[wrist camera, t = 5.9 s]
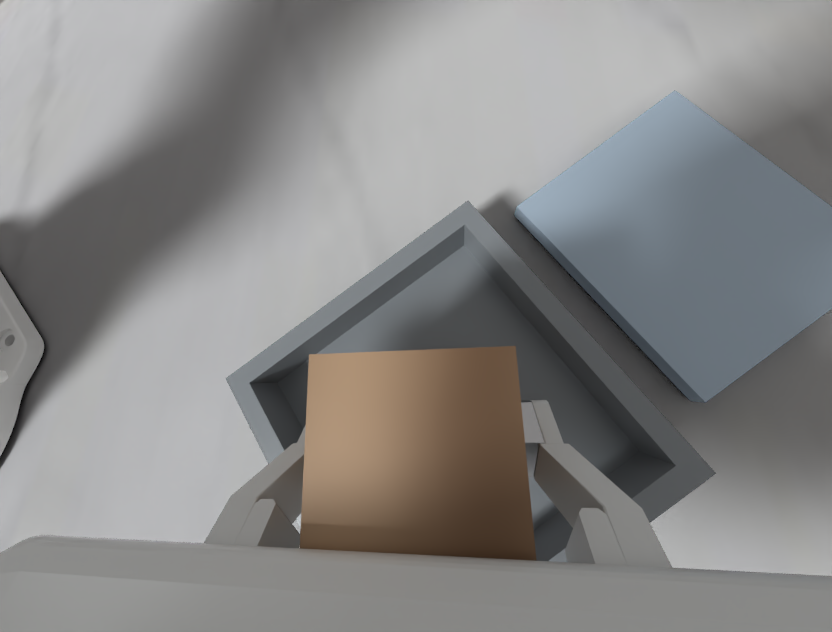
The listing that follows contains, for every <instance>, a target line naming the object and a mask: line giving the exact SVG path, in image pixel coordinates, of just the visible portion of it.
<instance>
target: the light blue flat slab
mask: <svg viewBox="0 0 832 632" xmlns="http://www.w3.org/2000/svg"><path fill="white" fill-rule="evenodd" d="M514 216H515V217H516V218H517V219H518V220H519V221H520V222H521V223H522V224H523V225H524V226H525V227H526V228H527V229H528V230H529V231H530V233H531V234H532V235H533V236H534V237H535V238H536V239H537V240H538V241H539V242H540V243H541V244H542V245H543V246H544V247H545V248H546V249H547V250H548V252H549V253H550V254H551V255H552V256H553V257H554V258H555V259H556V260H557V261H558V262H559V263H560V264H561V265H562V266H563V267H564V268H565V269H566V271H567V272H568V273H569V274H570V275H571V276H572V277H573V278H574V279H575V280H576V281H577V282H578V283H579V284H580V285H581V286H582V287H583V288H584V290H585V291H586V292H587V293H588V294H589V295H590V296H591V297H592V298H593V299H594V300H595V301H596V302H597V303H598V304H599V305H600V306H601V307H602V308H603V310H604V311H605V312H606V313H607V314H608V315H609V316H610V317H611V318H612V319H613V320H614V321H615V322H616V323H617V324H618V325H619V326H620V327H621V329H622V330H623V331H624V332H625V333H626V334H627V335H628V336H629V337H630V338H631V339H632V340H633V341H634V342H635V343H636V344H637V345H638V346H639V348H640V349H641V350H642V351H643V352H644V353H645V354H646V355H647V356H648V357H649V358H650V359H651V360H652V361H653V362H654V363H655V364H656V365H657V367H658V368H659V369H660V370H661V371H662V372H663V373H664V374H665V375H666V376H667V377H668V378H669V379H670V380H671V381H672V382H673V383H674V384H675V385H676V387H677V388H678V389H679V390H680V391H681V392H682V393H683V394H684V395H685V396H686V397H687V398H688V399H689V400H690V401H694V402H705V403H706V402H707V401H708V400H710V399H711V398H712V397H714V396H715V395H716V394H718V393H719V392H721V391H722V390H723V389H725V388H726V387H727V386H729V385H730V384H731V383H733V382H734V381H735V380H737V379H738V378H739V377H741V376H742V375H743V374H745V373H746V372H747V371H749V370H750V369H751V368H753V367H754V366H755V365H757V364H758V363H759V362H761V361H762V360H764V359H765V358H766V357H768V356H769V355H770V354H772V353H773V352H774V351H776V350H777V349H778V348H780V347H781V346H782V345H784V344H785V343H786V342H788V341H789V340H790V339H792V338H793V337H794V336H796V335H797V334H798V333H800V332H801V331H802V330H804V329H805V328H807V327H808V326H809V325H811V324H812V323H813V322H815V321H816V320H817V319H819V318H820V317H821V316H823V315H824V314H825V313H827V312H828V311H829V310H831V309H832V206H830V205H829V204H828V203H826V202H825V201H824V200H822V199H821V198H820V197H818V196H817V195H816V194H814V193H813V192H811V191H810V190H809V189H807V188H806V187H805V186H803V185H802V184H801V183H799V182H798V181H797V180H795V179H794V178H793V177H791V176H790V175H789V174H787V173H786V172H785V171H783V170H782V169H781V168H779V167H778V166H776V165H775V164H774V163H772V162H771V161H770V160H768V159H767V158H766V157H764V156H763V155H762V154H760V153H759V152H758V151H756V150H755V149H754V148H752V147H751V146H750V145H748V144H747V143H745V142H744V141H743V140H741V139H740V138H739V137H737V136H736V135H735V134H733V133H732V132H731V131H729V130H728V129H727V128H725V127H724V126H723V125H721V124H720V123H719V122H717V121H716V120H715V119H713V118H712V117H710V116H709V115H708V114H706V113H705V112H704V111H702V110H701V109H700V108H698V107H697V106H696V105H694V104H693V103H692V102H690V101H689V100H688V99H686V98H685V97H684V96H682V95H681V94H679V93H678V92H677V91H675V90H674V91H673V92H672V93H670V94H669V95H668V96H666V97H665V98H664V99H662V100H661V101H659V102H658V103H657V104H655V105H654V106H653V107H651V108H650V109H649V110H647V111H646V112H644V113H643V114H642V115H640V116H639V117H638V118H636V119H635V120H634V121H632V122H631V123H630V124H628V125H627V126H625V127H624V128H623V129H621V130H620V131H619V132H617V133H616V134H615V135H613V136H612V137H611V138H609V139H608V140H606V141H605V142H604V143H602V144H601V145H600V146H598V147H597V148H596V149H594V150H593V151H591V152H590V153H589V154H587V155H586V156H585V157H583V158H582V159H581V160H579V161H578V162H577V163H575V164H574V165H572V166H571V167H570V168H568V169H567V170H566V171H564V172H563V173H562V174H560V175H559V176H558V177H556V178H555V179H553V180H552V181H551V182H549V183H548V184H547V185H545V186H544V187H543V188H541V189H540V190H538V191H537V192H536V193H534V194H533V195H532V196H530V197H529V198H528V199H526V200H525V201H524V202H522V203H521V204H519V205H518V206H517V208H516V211H515V214H514Z"/></svg>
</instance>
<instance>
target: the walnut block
mask: <svg viewBox="0 0 832 632" xmlns="http://www.w3.org/2000/svg"><path fill="white" fill-rule="evenodd" d="M300 548H302V549H321V550H341V551H360V552H379V553H398V554H418V555H437V556H456V557H475V558H494V559H514V560H533V561H537V560H536V550H535V540H534V530H533V519H532V509H531V499H530V489H529V478H528V468H527V458H526V448H525V437H524V427H523V417H522V407H521V396H520V386H519V376H518V365H517V355H516V346H502V347H477V348H453V349H429V350H405V351H381V352H356V353H332V354H309V367H308V387H307V408H306V428H305V449H304V469H303V490H302V510H301V531H300Z"/></svg>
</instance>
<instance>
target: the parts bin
mask: <svg viewBox="0 0 832 632" xmlns="http://www.w3.org/2000/svg"><path fill="white" fill-rule="evenodd" d="M502 346H516V355H517V365H518V376H519V386H520V396H521V400H530V401H531V400H547V401H548V402H549V405H550V408H551V411H552V413H553V416H554V419H555V421H556V424H557V427H558V429H559V432H560V435H561V437H562V440H563V443H564V444H570V445H571V446H572V447H573V448H574V449H575V450H576V451H578V452H579V453H580V454H581V455H582V456H583V457H584V458H586V459H587V460H588V461H589V462H590V463H591V464H592V465H594V466H595V467H596V468H597V469H598V470H599V471H600V472H601V473H603V474H604V475H605V476H606V477H607V478H608V479H609V480H611V481H612V482H613V483H614V484H615V485H616V486H617V487H618V488H620V489H621V490H622V491H623V492H624V493H625V494H626V495H628V496H629V497H630V498H631V499H632V500H633V501H634V502H635V503H637V504H638V505H639V506H640V507H641V508H642V509H643V511H644V513H645V515H646V517H647V519H648V521H649V523H650V522H651V521H653V520H654V519H655V518H657V517H658V516H659V515H661V514H662V513H663V512H665V511H666V510H668V509H669V508H670V507H672V506H673V505H674V504H676V503H677V502H678V501H680V500H681V499H682V498H684V497H685V496H686V495H688V494H689V493H690V492H692V491H693V490H694V489H696V488H697V487H698V486H700V485H701V484H702V483H704V482H705V481H706V480H708V479H709V478H710V477H712V476H713V475H714V474H716V473H715V472H714V471H713V470H712V468H711V467H710V466H709V465H708V464H707V463H706V462H705V461H704V460H703V459H702V457H701V456H700V455H699V454H698V453H697V452H696V451H695V450H694V449H693V448H692V446H691V445H690V444H689V443H688V442H687V441H686V440H685V439H684V438H683V437H682V435H681V434H680V433H679V432H678V431H677V430H676V429H675V428H674V427H673V426H672V424H671V423H670V422H669V421H668V420H667V419H666V418H665V417H664V416H663V415H662V413H661V412H660V411H659V410H658V409H657V408H656V407H655V406H654V405H653V404H652V402H651V401H650V400H649V399H648V398H647V397H646V396H645V395H644V394H643V392H642V391H641V390H640V389H639V388H638V387H637V386H636V385H635V384H634V383H633V381H632V380H631V379H630V378H629V377H628V376H627V375H626V374H625V373H624V372H623V370H622V369H621V368H620V367H619V366H618V365H617V364H616V363H615V362H614V361H613V359H612V358H611V357H610V356H609V355H608V354H607V353H606V352H605V351H604V350H603V348H602V347H601V346H600V345H599V344H598V343H597V342H596V341H595V340H594V339H593V337H592V336H591V335H590V334H589V333H588V332H587V331H586V330H585V329H584V328H583V326H582V325H581V324H580V323H579V322H578V321H577V320H576V319H575V318H574V317H573V315H572V314H571V313H570V312H569V311H568V310H567V309H566V308H565V307H564V306H563V304H562V303H561V302H560V301H559V300H558V299H557V298H556V297H555V296H554V295H553V293H552V292H551V291H550V290H549V289H548V288H547V287H546V286H545V285H544V284H543V282H542V281H541V280H540V279H539V278H538V277H537V276H536V275H535V274H534V273H533V271H532V270H531V269H530V268H529V267H528V266H527V265H526V264H525V263H524V261H523V260H522V259H521V258H520V257H519V256H518V255H517V254H516V253H515V252H514V250H513V249H512V248H511V247H510V246H509V245H508V244H507V243H506V242H505V241H504V239H503V238H502V237H501V236H500V235H499V234H498V233H497V232H496V231H495V230H494V228H493V227H492V226H491V225H490V224H489V223H488V222H487V221H486V220H485V219H484V217H483V216H482V215H481V214H480V213H479V212H478V211H477V210H476V209H475V208H474V206H473V205H472V204H471V203H470V202H469V201H467V202H465V203H464V204H463V205H461V206H460V207H458V208H457V209H456V210H454V211H453V212H452V213H450V214H449V215H448V216H446V217H445V218H443V219H442V220H441V221H439V222H438V223H437V224H435V225H434V226H433V227H431V228H430V229H428V230H427V231H426V232H424V233H423V234H422V235H420V236H419V237H418V238H416V239H415V240H414V241H412V242H411V243H409V244H408V245H407V246H405V247H404V248H403V249H401V250H400V251H399V252H397V253H396V254H394V255H393V256H392V257H390V258H389V259H388V260H386V261H385V262H384V263H382V264H381V265H379V266H378V267H377V268H375V269H374V270H373V271H371V272H370V273H369V274H367V275H366V276H365V277H363V278H362V279H360V280H359V281H358V282H356V283H355V284H354V285H352V286H351V287H350V288H348V289H347V290H345V291H344V292H343V293H341V294H340V295H339V296H337V297H336V298H335V299H333V300H332V301H330V302H329V303H328V304H326V305H325V306H324V307H322V308H321V309H320V310H318V311H317V312H316V313H314V314H313V315H311V316H310V317H309V318H307V319H306V320H305V321H303V322H302V323H301V324H299V325H298V326H296V327H295V328H294V329H292V330H291V331H290V332H288V333H287V334H286V335H284V336H283V337H281V338H280V339H279V340H277V341H276V342H275V343H273V344H272V345H271V346H269V347H268V348H267V349H265V350H264V351H262V352H261V353H260V354H258V355H257V356H256V357H254V358H253V359H252V360H250V361H249V362H247V363H246V364H245V365H243V366H242V367H241V368H239V369H238V370H237V371H235V372H234V373H232V374H231V375H230V376H228V377H227V378H226V380H227V382H228V384H229V386H230V388H231V390H232V392H233V394H234V396H235V398H236V400H237V402H238V404H239V406H240V408H241V410H242V412H243V414H244V416H245V418H246V420H247V422H248V424H249V426H250V428H251V430H252V432H253V434H254V436H255V438H256V440H257V442H258V444H259V446H260V448H261V450H262V452H263V454H264V456H265V458H266V460H267V462H268V464H269V463H270V462H272V461H273V460H274V459H275V458H276V457H278V456H279V455H280V454H281V453H282V452H283V451H285V450H286V449H287V448H288V447H289V446H290V445H292V444H293V443H297V442H298V440H299V438H300V435H301V433H302V431H303V429H304V427H305V425H306V408H307V387H308V367H309V354H332V353H356V352H381V351H405V350H429V349H453V348H477V347H502ZM528 478H529V489H530V499H531V509H532V519H533V530H534V540H535V550H536V560H537V561H552V562H568V561H567V557H566V554H565V549H566V547H567V544H568V541H569V538H570V536H571V533H572V530H573V527H572V526H571V525H570V524H569V522H568V521H567V520H566V519H565V517H564V516H563V515H562V514H561V512H560V511H559V510H558V509H557V507H556V506H555V505H554V504H553V502H552V501H551V500H550V498H549V497H548V496H547V495H546V493H545V492H544V491H543V490H542V488H541V487H540V486H539V485H538V483H537V482H536V481H535V480H534V478H532V477H528ZM296 520H297V522H298V524H299V526H300V528H301V514H300V515H299V516H298V517H297V519H296Z"/></svg>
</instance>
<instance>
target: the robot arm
mask: <svg viewBox="0 0 832 632" xmlns="http://www.w3.org/2000/svg"><path fill="white" fill-rule="evenodd" d="M43 351H44V342H43V340H42V338H41V336H40V334H39V333H38V331H37V330H36V328H35V326H34V325H33V323H32V322H31V320H30V318H29V317H28V315H27V313H26V312H25V310H24V309H23V307H22V305H21V304H20V302H19V300H18V299H17V297H16V296H15V294H14V292H13V291H12V289H11V288H10V286H9V284H8V283H7V281H6V279H5V278H4V276H3V275H2V273H1V271H0V456H1V454H2V452H3V450H4V448H5V446H6V444H7V442H8V440H9V438H10V435H11V433H12V430H13V427H14V424H15V421H16V418H17V414H18V410H19V406H20V402H21V398H22V395H23V392H24V389H25V387H26V385H27V383H28V381H29V380H30V378H31V376H32V374H33V373H34V371H35V369H36V367H37V366H38V364H39V362H40V360H41V357H42V355H43ZM521 407H522V417H523V427H524V437H525V448H526V458H527V468H528V477H532V478H534V480H535V481H536V482H537V483H538V485H539V486H540V487H541V488H542V490H543V491H544V492H545V493H546V495H547V496H548V497H549V498H550V500H551V501H552V502H553V504H554V505H555V506H556V507H557V509H558V510H559V511H560V512H561V514H562V515H563V516H564V517H565V519H566V520H567V521H568V522H569V524H570V525H571V526H572V527H573V530H572V533H571V536H570V538H569V541H568V544H567V547H566V549H565V554H566V557H567V561H568V562H552V561H533V560H514V559H494V558H475V557H456V556H437V555H418V554H398V553H379V552H360V551H341V550H321V549H302V548H299V546H300V534H299V533H298V531H297V530H296V529H295V527H294V526H293V525H292V523H293V522H294V521H295V520H296V519H297V517H298V516H299V515H300V514H301V510H302V490H303V469H304V449H305V428H306V425H305V427H304V429H303V431H302V433H301V435H300V438H299V440H298V442H297V443H293V444H292V445H290V446H289V447H288V448H287V449H286V450H285V451H283V452H282V453H281V454H280V455H279V456H278V457H276V458H275V459H274V460H273V461H272V462H270V463H269V464H268V465H267V466H266V467H265V468H263V469H262V470H261V471H260V472H259V473H258V474H256V475H255V476H254V477H253V478H252V479H251V480H249V481H248V482H247V483H246V484H245V485H243V486H242V487H241V488H240V489H239V490H238V491H236V492H235V493H234V494H233V495H232V496H231V497H230V498H229V500H228V502H227V504H226V505H225V507H224V509H223V511H222V512H221V514H220V516H219V517H218V519H217V521H216V523H215V524H214V526H213V528H212V530H211V531H210V533H209V535H208V537H207V538H206V540H205V542H204V543H185V542H166V541H147V540H127V539H108V538H88V537H68V536H53V535H40V536H34V537H30V538H27V539H25V540H23V541H21V542H19V543H17V544H15V545H14V546H12V547H10V548H8V549H6V550H5V551H3V552H1V553H0V632H832V576H820V575H801V574H782V573H763V572H744V571H724V570H705V569H686V568H672V566H671V564H670V562H669V560H668V558H667V556H666V554H665V552H664V550H663V548H662V546H661V544H660V542H659V540H658V538H657V536H656V534H655V533H654V531H653V529H652V527H651V525H650V523H649V521H648V519H647V517H646V515H645V513H644V511H643V509H642V508H641V507H640V506H639V505H638V504H637V503H635V502H634V501H633V500H632V499H631V498H630V497H629V496H628V495H626V494H625V493H624V492H623V491H622V490H621V489H620V488H618V487H617V486H616V485H615V484H614V483H613V482H612V481H611V480H609V479H608V478H607V477H606V476H605V475H604V474H603V473H601V472H600V471H599V470H598V469H597V468H596V467H595V466H594V465H592V464H591V463H590V462H589V461H588V460H587V459H586V458H584V457H583V456H582V455H581V454H580V453H579V452H578V451H576V450H575V449H574V448H573V447H572V446H571V445H570V444H564V443H563V440H562V437H561V435H560V432H559V429H558V427H557V424H556V421H555V419H554V416H553V413H552V411H551V408H550V405H549V402H548V401H547V400H531V401H530V400H521Z"/></svg>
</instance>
